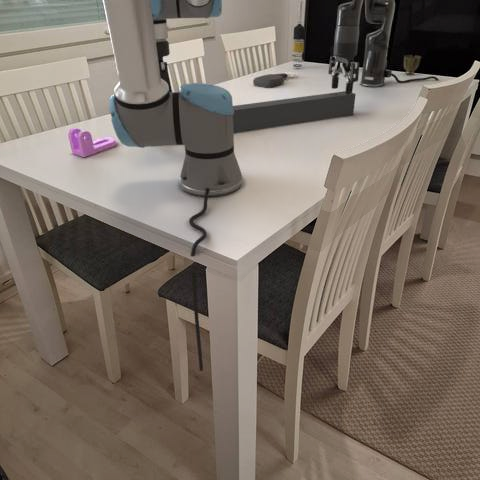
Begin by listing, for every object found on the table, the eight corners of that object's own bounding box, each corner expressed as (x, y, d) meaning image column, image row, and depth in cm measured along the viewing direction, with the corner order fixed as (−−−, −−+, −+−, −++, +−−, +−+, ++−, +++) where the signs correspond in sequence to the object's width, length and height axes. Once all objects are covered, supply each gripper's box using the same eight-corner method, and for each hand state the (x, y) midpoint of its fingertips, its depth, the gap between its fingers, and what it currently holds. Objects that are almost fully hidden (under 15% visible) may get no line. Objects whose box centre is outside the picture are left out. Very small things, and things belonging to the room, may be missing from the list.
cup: (399, 75, 209) (402, 56, 205) (402, 71, 214) (405, 54, 210) (416, 76, 206) (419, 57, 202) (418, 73, 211) (422, 55, 207)
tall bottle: (304, 68, 225) (308, 1, 209) (295, 69, 223) (298, 2, 207) (299, 66, 229) (303, 0, 213) (289, 67, 227) (292, 1, 211)
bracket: (84, 157, 126) (79, 133, 123) (72, 153, 129) (66, 129, 126) (119, 144, 135) (116, 121, 131) (108, 140, 138) (104, 118, 134)
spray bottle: (250, 85, 197) (282, 75, 213) (270, 88, 191) (301, 78, 207) (250, 78, 195) (282, 69, 211) (271, 81, 189) (302, 72, 206)
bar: (153, 145, 134) (150, 121, 130) (149, 140, 138) (146, 117, 134) (353, 115, 157) (355, 93, 153) (345, 111, 161) (347, 90, 157)
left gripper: (180, 44, 114) (186, 126, 125) (157, 35, 134) (165, 107, 145) (151, 46, 111) (160, 130, 122) (132, 36, 131) (142, 109, 142)
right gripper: (369, 42, 140) (362, 94, 149) (343, 36, 151) (339, 85, 160) (349, 44, 138) (343, 97, 146) (324, 38, 149) (321, 87, 158)
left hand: (162, 117), depth 133 cm, fingers open, 13 cm apart
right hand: (341, 91), depth 153 cm, fingers open, 8 cm apart
